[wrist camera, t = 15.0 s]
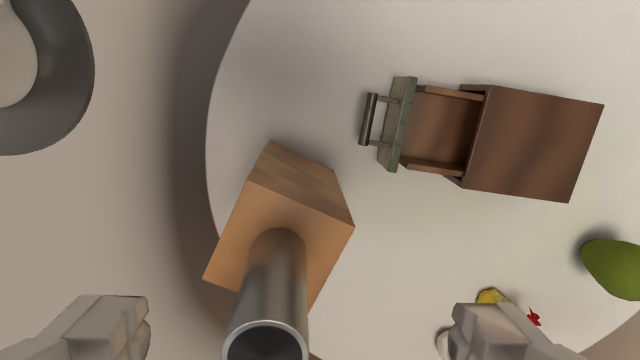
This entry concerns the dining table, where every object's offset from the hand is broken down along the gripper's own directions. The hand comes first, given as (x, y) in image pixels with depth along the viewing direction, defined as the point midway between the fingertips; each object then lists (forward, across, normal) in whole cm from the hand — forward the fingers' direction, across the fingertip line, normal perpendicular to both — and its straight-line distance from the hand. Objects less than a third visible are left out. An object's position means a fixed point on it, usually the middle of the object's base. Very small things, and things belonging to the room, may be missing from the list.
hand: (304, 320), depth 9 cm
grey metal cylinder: (+22, +2, +10) cm, 24 cm away
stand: (+44, +2, +10) cm, 45 cm away
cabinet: (+44, -30, 0) cm, 53 cm away
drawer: (+43, -18, -1) cm, 47 cm away
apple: (+44, -51, +19) cm, 70 cm away
